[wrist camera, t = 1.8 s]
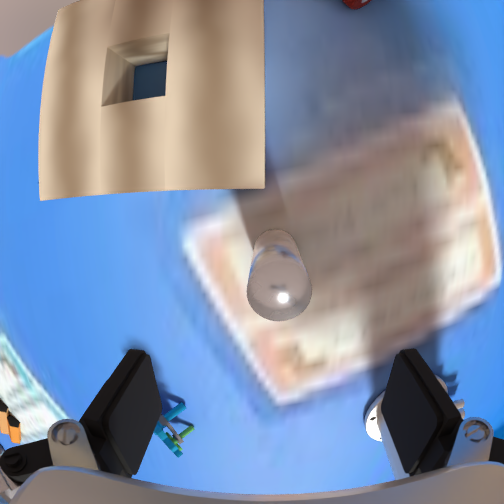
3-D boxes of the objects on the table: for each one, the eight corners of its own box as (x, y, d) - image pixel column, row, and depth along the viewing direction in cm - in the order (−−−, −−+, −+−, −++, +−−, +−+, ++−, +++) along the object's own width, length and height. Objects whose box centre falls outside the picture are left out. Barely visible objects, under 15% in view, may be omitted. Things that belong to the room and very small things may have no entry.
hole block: (263, -3, 21) (262, -36, 15) (265, 185, 26) (264, 188, 20) (86, 27, 22) (58, 9, 16) (75, 193, 27) (39, 200, 21)
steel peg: (297, 229, 27) (314, 261, 18) (295, 271, 28) (309, 321, 19) (253, 229, 27) (246, 260, 18) (253, 270, 28) (247, 320, 19)
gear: (114, 385, 32) (146, 431, 24) (150, 362, 35) (190, 400, 28) (152, 433, 36) (189, 475, 29) (182, 412, 39) (223, 449, 32)
